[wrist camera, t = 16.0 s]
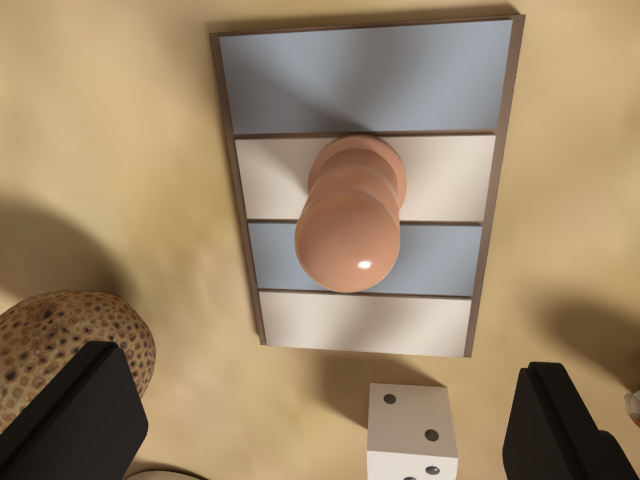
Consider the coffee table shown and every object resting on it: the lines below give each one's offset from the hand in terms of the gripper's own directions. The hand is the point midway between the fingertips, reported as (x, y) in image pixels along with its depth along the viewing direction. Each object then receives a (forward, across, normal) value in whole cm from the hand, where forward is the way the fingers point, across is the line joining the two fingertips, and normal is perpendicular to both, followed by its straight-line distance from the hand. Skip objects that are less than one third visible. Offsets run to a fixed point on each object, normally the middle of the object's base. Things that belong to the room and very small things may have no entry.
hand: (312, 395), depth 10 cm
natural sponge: (+14, +15, +8) cm, 22 cm away
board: (+13, -1, +1) cm, 13 cm away
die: (+14, -4, +16) cm, 21 cm away
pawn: (+12, 0, -1) cm, 12 cm away
